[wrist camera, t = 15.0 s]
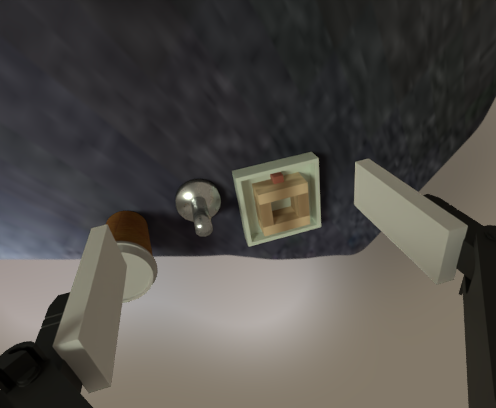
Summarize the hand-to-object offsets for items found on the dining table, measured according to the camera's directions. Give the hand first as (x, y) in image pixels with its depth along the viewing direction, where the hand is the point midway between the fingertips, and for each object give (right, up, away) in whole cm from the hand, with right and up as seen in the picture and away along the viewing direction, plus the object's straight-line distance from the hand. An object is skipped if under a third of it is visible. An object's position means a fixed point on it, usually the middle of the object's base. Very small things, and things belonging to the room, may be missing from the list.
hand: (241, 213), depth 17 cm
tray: (+5, +2, +38) cm, 38 cm away
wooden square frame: (+5, +1, +38) cm, 38 cm away
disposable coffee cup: (-19, -3, +35) cm, 40 cm away
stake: (-8, +1, +35) cm, 36 cm away
